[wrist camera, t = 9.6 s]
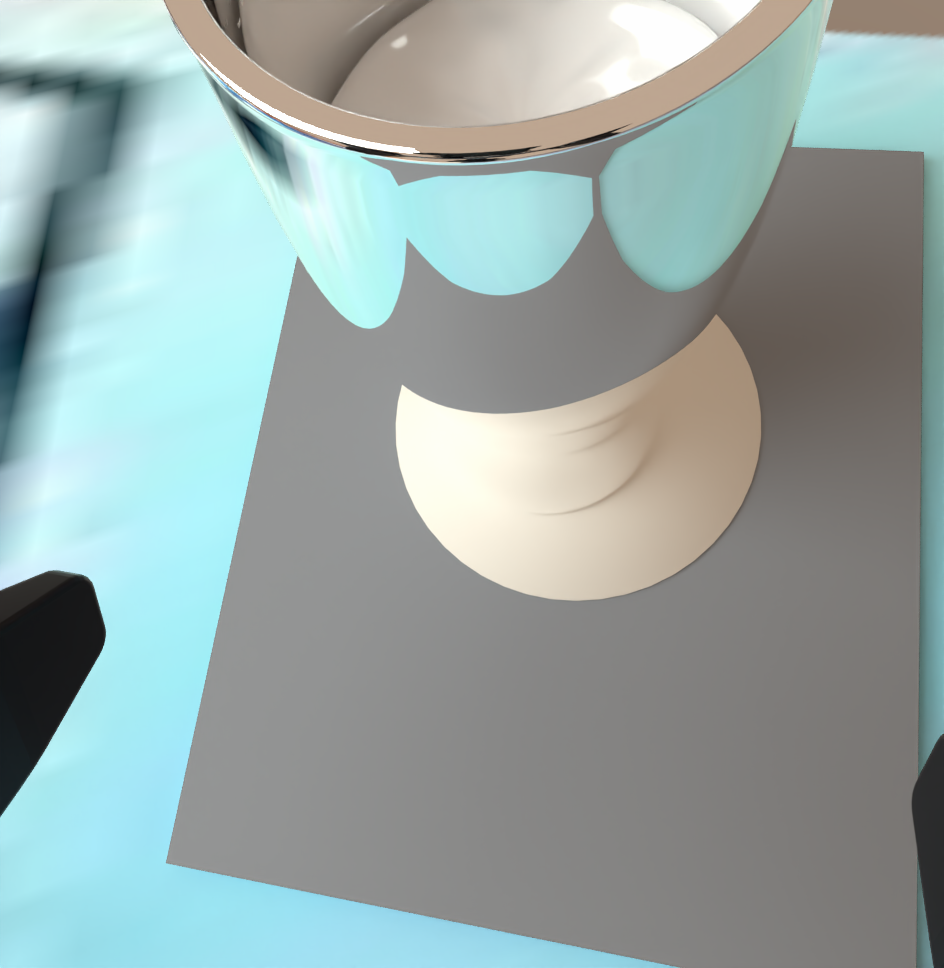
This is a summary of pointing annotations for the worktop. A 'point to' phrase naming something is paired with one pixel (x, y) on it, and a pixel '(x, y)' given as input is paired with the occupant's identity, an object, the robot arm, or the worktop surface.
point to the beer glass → (518, 198)
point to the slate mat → (601, 632)
